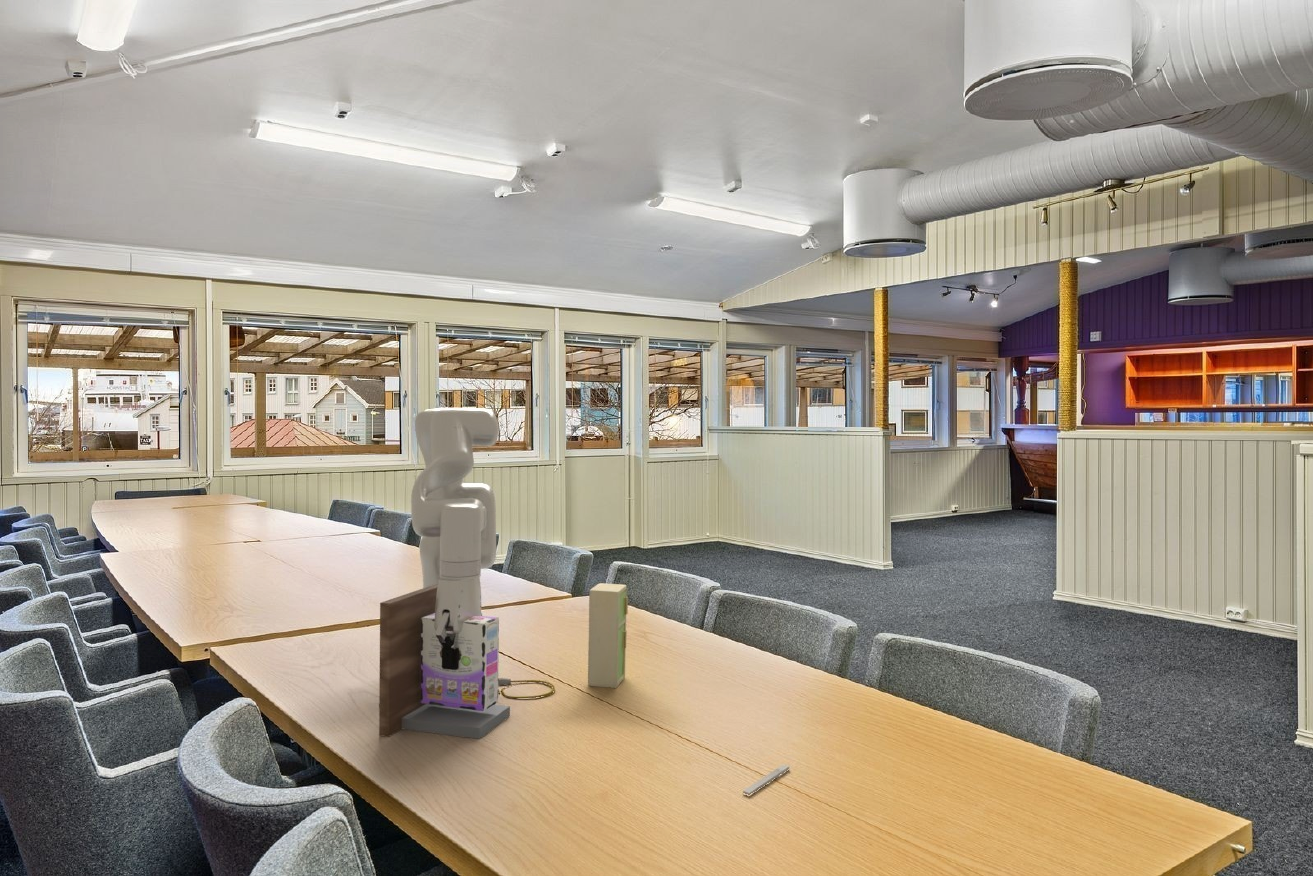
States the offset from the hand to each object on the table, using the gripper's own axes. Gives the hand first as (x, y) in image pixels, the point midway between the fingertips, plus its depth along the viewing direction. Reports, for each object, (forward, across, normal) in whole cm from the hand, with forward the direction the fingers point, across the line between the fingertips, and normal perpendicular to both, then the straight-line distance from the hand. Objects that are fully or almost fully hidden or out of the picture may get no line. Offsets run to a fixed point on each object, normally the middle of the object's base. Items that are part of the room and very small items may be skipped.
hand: (459, 662), depth 153 cm
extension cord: (+12, -21, +3) cm, 24 cm away
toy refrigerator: (+12, -32, +19) cm, 39 cm away
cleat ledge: (+11, 0, 0) cm, 11 cm away
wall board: (+11, 0, -9) cm, 15 cm away
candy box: (+8, 0, 0) cm, 8 cm away
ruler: (+12, +9, +60) cm, 61 cm away
